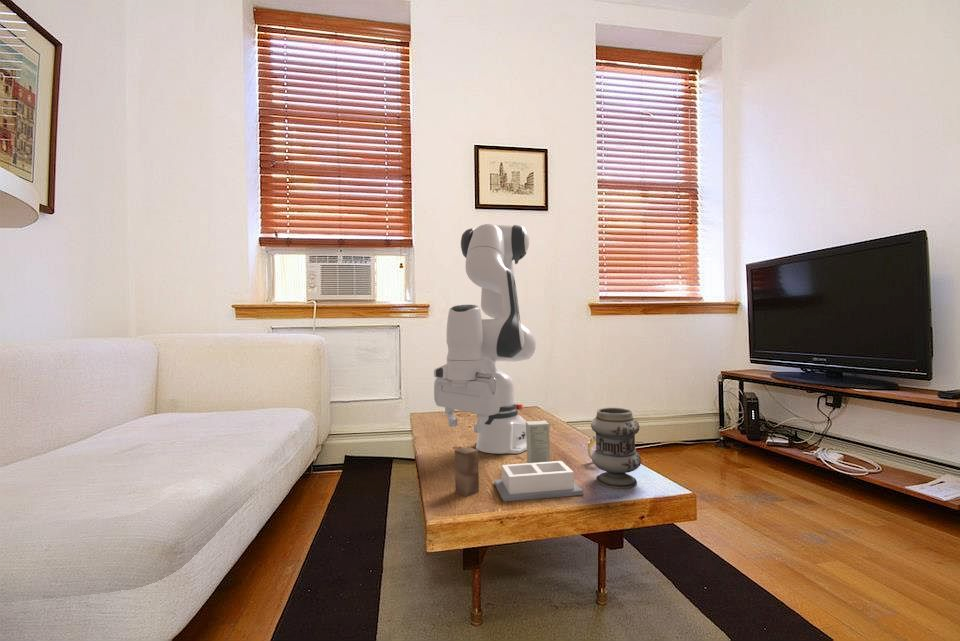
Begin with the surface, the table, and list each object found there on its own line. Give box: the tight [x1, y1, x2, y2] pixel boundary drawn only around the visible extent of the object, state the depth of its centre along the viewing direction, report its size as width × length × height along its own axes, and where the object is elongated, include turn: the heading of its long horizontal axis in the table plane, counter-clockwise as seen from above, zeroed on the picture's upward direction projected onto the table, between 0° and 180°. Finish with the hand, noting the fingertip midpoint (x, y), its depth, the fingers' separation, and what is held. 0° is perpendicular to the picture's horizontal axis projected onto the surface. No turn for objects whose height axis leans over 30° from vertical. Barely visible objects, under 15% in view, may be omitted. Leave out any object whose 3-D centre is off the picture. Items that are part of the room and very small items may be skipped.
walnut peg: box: [454, 446, 480, 497], centre depth 103 cm, size 4×4×10 cm
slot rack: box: [493, 460, 584, 502], centre depth 104 cm, size 19×11×5 cm, turn 99°
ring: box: [586, 433, 596, 460], centre depth 123 cm, size 7×3×8 cm, turn 93°
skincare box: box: [526, 420, 551, 463], centre depth 122 cm, size 6×4×12 cm
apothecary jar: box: [590, 407, 642, 489], centre depth 108 cm, size 12×12×18 cm
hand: (465, 429), depth 103 cm, fingers open, 8 cm apart
